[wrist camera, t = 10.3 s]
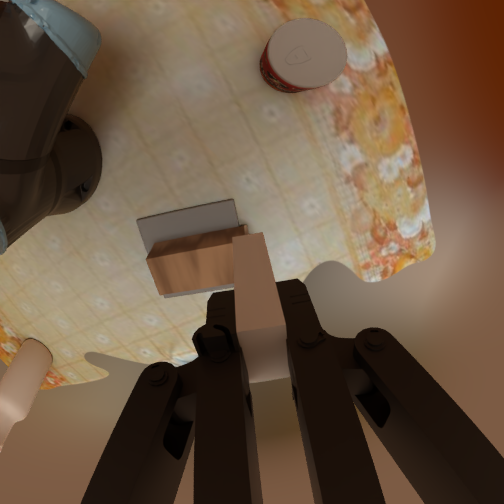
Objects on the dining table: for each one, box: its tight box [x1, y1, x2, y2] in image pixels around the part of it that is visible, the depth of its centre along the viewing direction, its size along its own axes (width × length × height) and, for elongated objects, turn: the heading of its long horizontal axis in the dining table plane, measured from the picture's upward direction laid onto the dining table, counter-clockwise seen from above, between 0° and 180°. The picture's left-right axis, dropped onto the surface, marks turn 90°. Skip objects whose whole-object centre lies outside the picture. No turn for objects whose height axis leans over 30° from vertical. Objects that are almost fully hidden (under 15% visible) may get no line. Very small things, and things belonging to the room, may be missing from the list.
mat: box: [136, 199, 239, 298], centre depth 44 cm, size 14×14×1 cm
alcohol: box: [0, 339, 52, 452], centre depth 41 cm, size 9×9×30 cm
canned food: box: [260, 18, 347, 93], centre depth 27 cm, size 8×8×11 cm
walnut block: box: [146, 225, 249, 295], centre depth 41 cm, size 5×6×14 cm
